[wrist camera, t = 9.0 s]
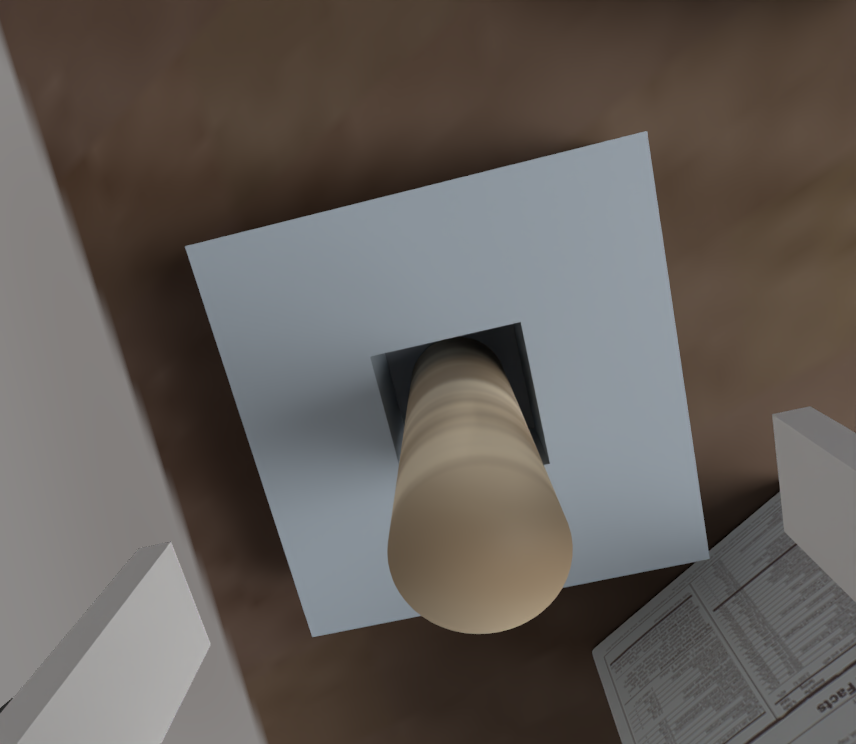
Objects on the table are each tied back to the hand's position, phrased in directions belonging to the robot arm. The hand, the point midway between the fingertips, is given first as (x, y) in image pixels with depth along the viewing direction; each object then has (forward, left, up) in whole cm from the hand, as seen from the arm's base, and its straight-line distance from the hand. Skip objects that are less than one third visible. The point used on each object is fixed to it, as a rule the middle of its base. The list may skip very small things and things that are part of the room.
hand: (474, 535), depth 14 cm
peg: (0, 0, -14) cm, 14 cm away
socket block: (0, 0, -15) cm, 15 cm away
